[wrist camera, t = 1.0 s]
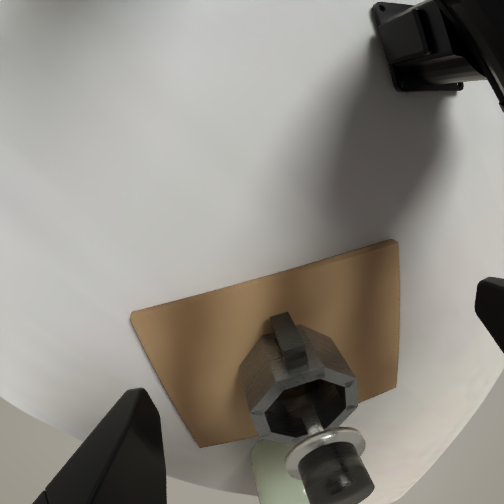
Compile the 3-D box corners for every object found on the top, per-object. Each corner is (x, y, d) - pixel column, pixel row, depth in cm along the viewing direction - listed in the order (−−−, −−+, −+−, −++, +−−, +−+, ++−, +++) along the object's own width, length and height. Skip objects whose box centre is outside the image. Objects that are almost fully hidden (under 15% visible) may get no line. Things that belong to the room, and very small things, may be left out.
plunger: (337, 373, 17) (389, 463, 11) (341, 417, 19) (381, 498, 12) (264, 396, 17) (293, 498, 11) (277, 438, 19) (304, 525, 12)
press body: (325, 293, 20) (354, 331, 16) (335, 382, 23) (357, 423, 19) (225, 322, 20) (233, 369, 16) (254, 407, 23) (265, 453, 19)
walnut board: (391, 239, 21) (398, 242, 20) (392, 381, 26) (396, 387, 25) (131, 311, 20) (129, 318, 19) (199, 441, 25) (200, 447, 24)
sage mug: (317, 420, 26) (346, 489, 19) (323, 463, 29) (346, 520, 22) (242, 441, 26) (256, 515, 18) (261, 481, 29) (276, 541, 21)
